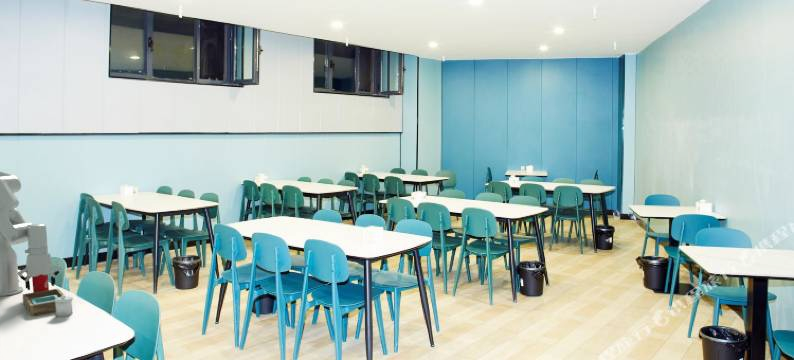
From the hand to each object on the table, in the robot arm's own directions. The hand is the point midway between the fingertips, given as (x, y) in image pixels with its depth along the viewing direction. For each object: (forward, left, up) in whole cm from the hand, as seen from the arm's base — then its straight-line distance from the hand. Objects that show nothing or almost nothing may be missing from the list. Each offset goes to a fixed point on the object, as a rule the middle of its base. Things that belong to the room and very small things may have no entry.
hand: (40, 287), depth 274 cm
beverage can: (0, 0, -4) cm, 4 cm away
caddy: (+18, +7, -4) cm, 20 cm away
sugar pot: (+32, +18, -4) cm, 37 cm away
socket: (+18, +7, -4) cm, 20 cm away
